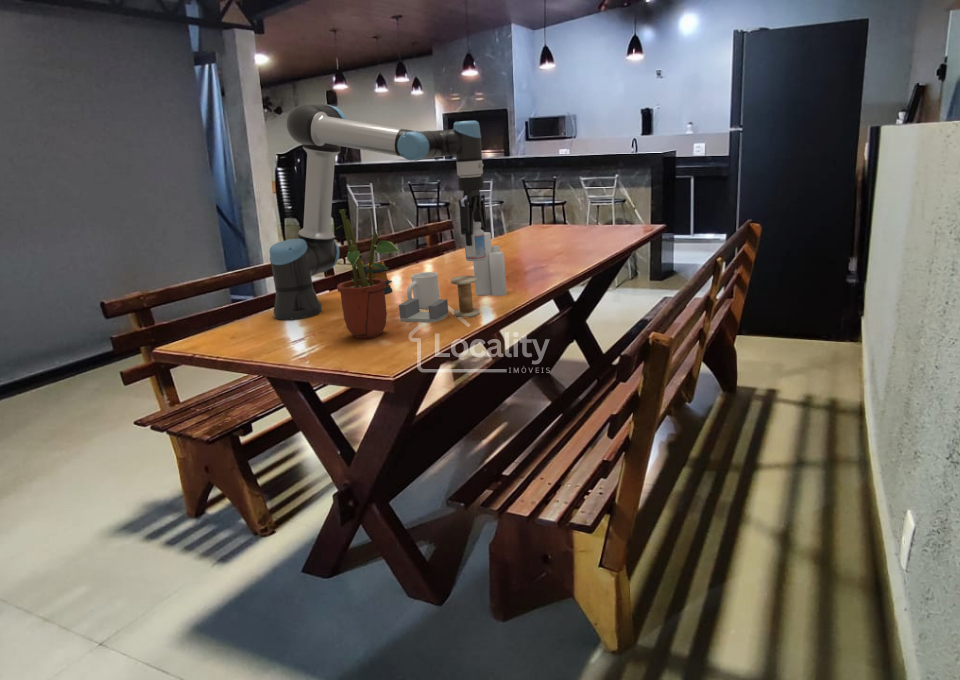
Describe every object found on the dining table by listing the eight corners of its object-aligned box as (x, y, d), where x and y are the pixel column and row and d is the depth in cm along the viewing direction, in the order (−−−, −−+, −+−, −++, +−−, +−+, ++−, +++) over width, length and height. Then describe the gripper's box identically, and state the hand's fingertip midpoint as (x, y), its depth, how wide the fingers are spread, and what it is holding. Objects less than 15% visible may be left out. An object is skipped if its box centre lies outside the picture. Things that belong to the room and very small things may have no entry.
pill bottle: (489, 259, 203) (487, 222, 200) (472, 262, 200) (470, 224, 197) (478, 257, 208) (476, 220, 205) (462, 260, 205) (459, 223, 202)
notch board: (400, 321, 199) (398, 304, 197) (413, 314, 206) (412, 298, 204) (436, 322, 194) (434, 306, 192) (448, 315, 201) (447, 299, 199)
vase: (472, 295, 224) (467, 235, 219) (481, 290, 231) (476, 232, 225) (503, 296, 220) (499, 235, 214) (511, 291, 226) (507, 231, 220)
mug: (418, 313, 206) (414, 280, 203) (400, 310, 211) (396, 278, 208) (445, 304, 214) (442, 273, 211) (427, 302, 220) (424, 271, 217)
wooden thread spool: (449, 317, 199) (446, 280, 195) (460, 310, 205) (457, 275, 202) (473, 318, 196) (470, 281, 192) (483, 311, 202) (480, 275, 199)
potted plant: (346, 345, 179) (328, 212, 168) (341, 331, 193) (324, 208, 183) (411, 335, 183) (396, 205, 173) (401, 322, 197) (387, 201, 187)
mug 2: (398, 290, 241) (395, 258, 238) (381, 296, 233) (377, 264, 230) (370, 288, 248) (366, 257, 244) (352, 295, 239) (348, 263, 236)
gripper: (468, 178, 187) (474, 260, 194) (494, 173, 203) (499, 248, 210) (444, 179, 190) (450, 260, 197) (472, 174, 207) (477, 248, 213)
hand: (475, 254), depth 204 cm, fingers closed on pill bottle, 6 cm apart
